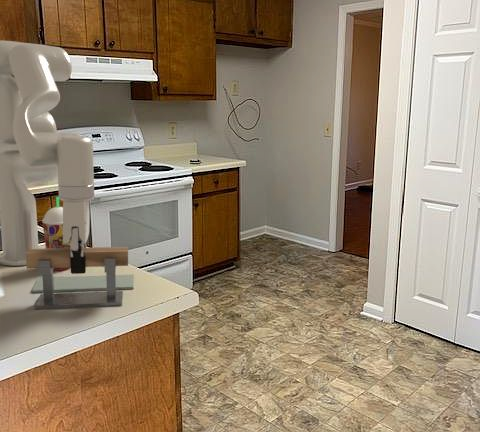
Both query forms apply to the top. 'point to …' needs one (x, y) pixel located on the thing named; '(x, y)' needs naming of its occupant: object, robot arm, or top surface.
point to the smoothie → (54, 229)
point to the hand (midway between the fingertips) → (79, 269)
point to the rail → (62, 255)
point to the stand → (78, 299)
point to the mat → (85, 283)
